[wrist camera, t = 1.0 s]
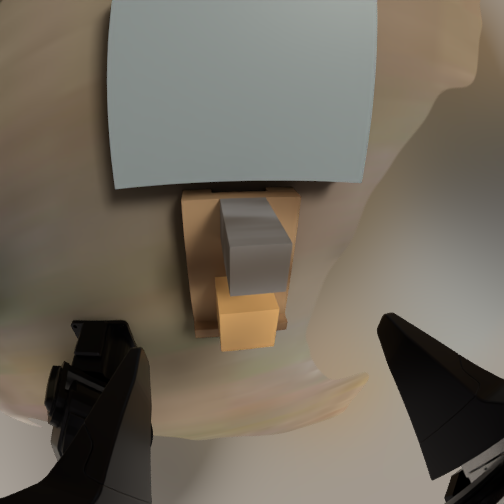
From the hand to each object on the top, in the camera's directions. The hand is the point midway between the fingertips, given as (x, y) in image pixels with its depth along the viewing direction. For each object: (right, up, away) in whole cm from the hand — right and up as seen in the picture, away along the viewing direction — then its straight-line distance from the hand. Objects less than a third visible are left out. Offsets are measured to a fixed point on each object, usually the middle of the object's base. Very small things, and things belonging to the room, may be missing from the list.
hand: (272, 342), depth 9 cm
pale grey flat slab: (-1, +15, +6) cm, 16 cm away
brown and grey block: (-2, +3, +14) cm, 14 cm away
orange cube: (-2, 0, +13) cm, 13 cm away
